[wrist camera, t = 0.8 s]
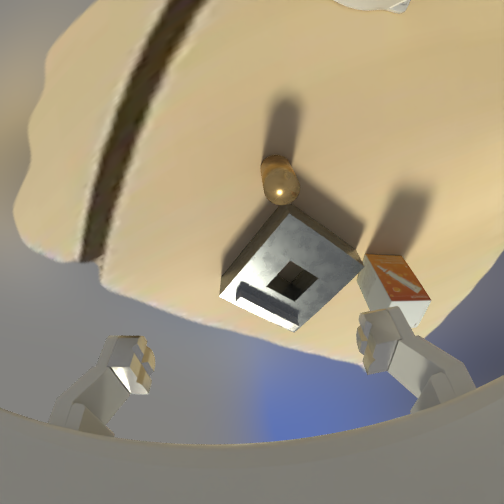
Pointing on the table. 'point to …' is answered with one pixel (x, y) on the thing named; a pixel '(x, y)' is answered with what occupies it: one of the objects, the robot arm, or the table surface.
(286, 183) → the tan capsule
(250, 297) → the jig
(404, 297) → the small box
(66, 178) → the table surface
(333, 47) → the table surface
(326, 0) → the table surface
